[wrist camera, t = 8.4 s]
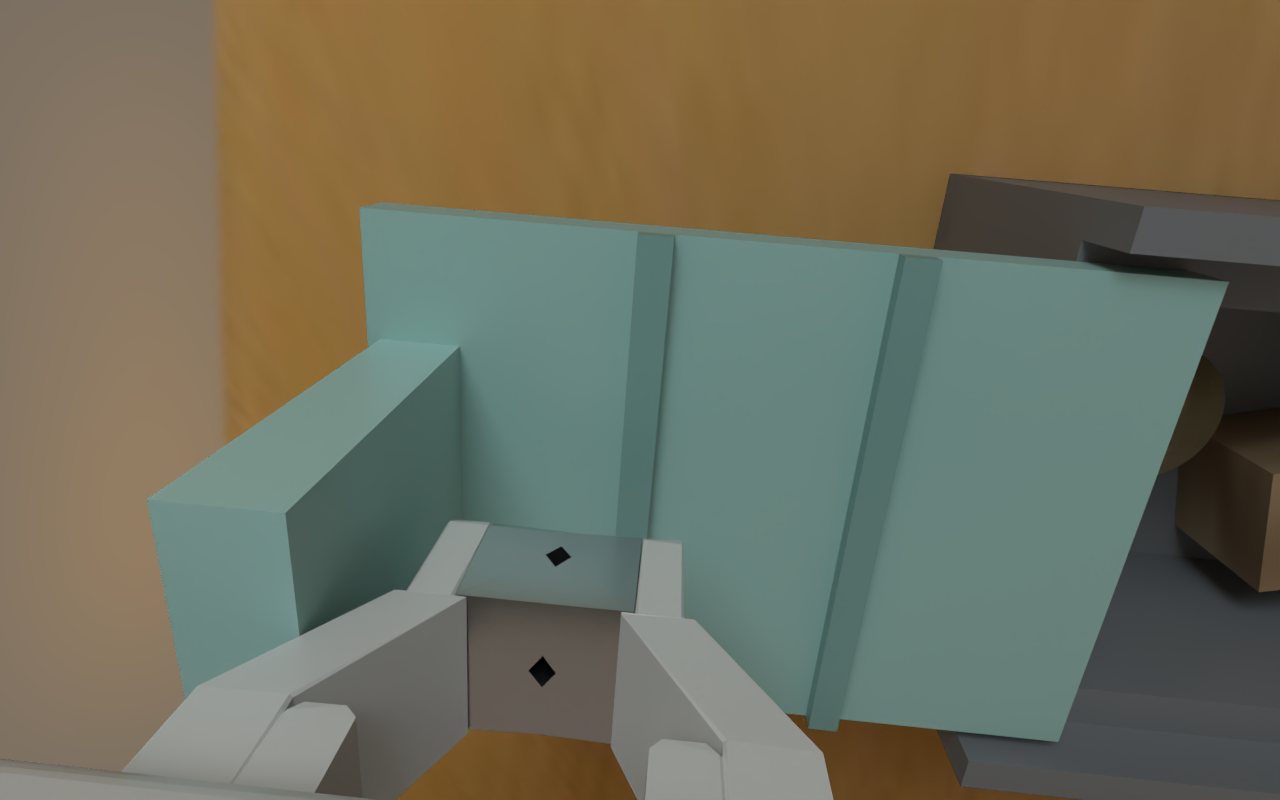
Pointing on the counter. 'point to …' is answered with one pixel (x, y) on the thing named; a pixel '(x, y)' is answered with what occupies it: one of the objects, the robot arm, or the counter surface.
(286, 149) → the counter surface
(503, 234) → the lid
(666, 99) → the counter surface
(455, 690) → the robot arm
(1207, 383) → the brass part
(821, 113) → the counter surface
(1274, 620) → the grey box
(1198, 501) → the wood part
